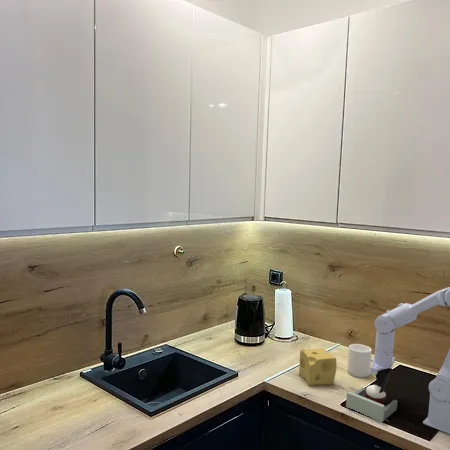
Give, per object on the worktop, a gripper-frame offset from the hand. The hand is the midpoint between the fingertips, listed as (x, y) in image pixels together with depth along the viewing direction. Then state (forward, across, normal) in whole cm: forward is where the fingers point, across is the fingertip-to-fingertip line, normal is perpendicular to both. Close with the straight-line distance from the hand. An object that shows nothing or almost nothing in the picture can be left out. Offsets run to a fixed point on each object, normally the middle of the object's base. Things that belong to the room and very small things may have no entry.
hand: (380, 388), depth 144 cm
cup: (+5, -16, -17) cm, 24 cm away
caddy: (+4, +7, 0) cm, 8 cm away
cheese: (+5, +2, -24) cm, 24 cm away
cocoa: (+5, +3, 0) cm, 6 cm away
